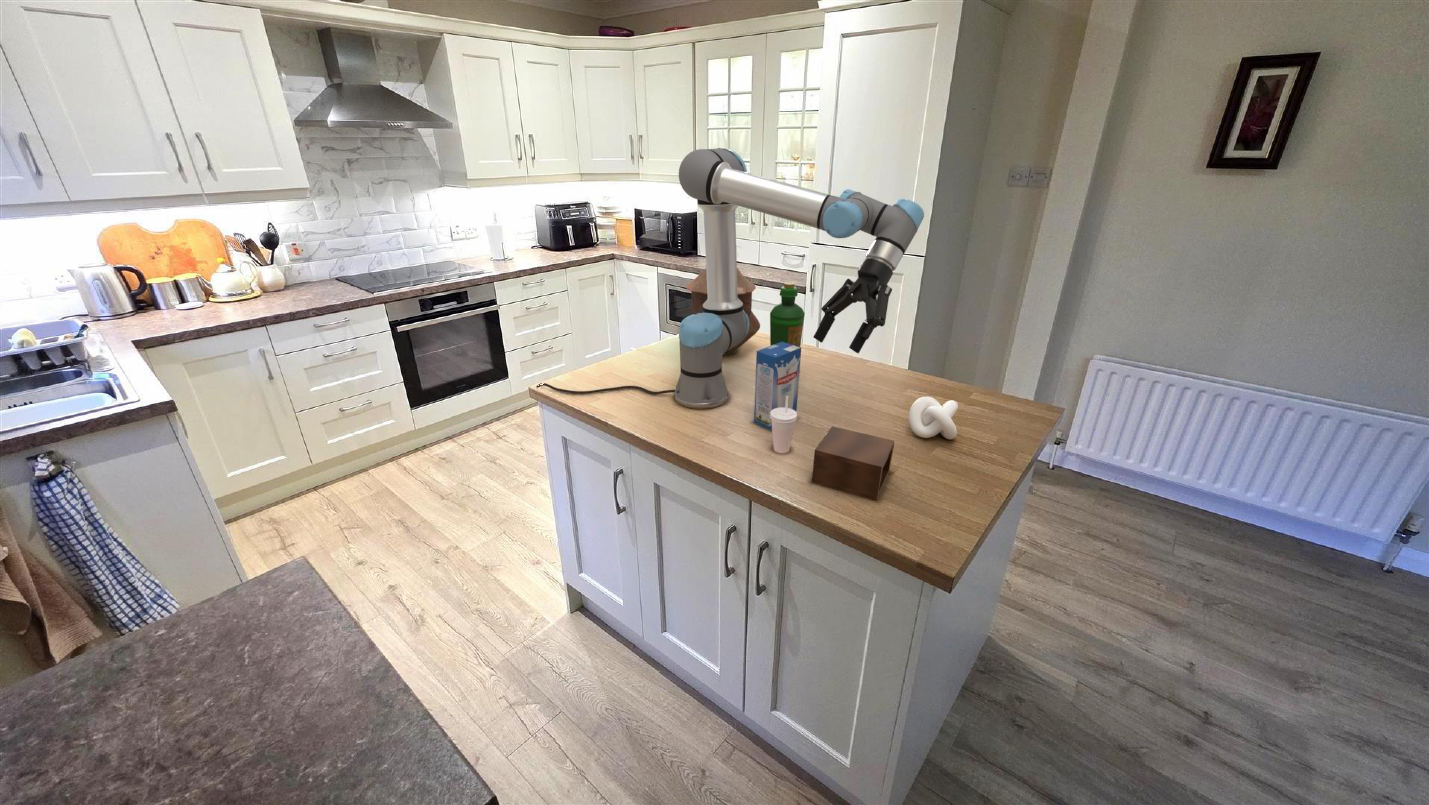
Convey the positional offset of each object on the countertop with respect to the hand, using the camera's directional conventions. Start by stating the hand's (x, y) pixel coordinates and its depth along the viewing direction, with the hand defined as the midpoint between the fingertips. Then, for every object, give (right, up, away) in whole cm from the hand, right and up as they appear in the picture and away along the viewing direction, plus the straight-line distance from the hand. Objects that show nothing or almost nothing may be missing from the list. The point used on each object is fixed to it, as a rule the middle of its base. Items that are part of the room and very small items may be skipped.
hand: (834, 345), depth 129 cm
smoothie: (-12, -25, +3) cm, 28 cm away
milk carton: (-12, -18, +16) cm, 27 cm away
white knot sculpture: (+27, -21, +10) cm, 36 cm away
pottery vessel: (-26, +5, +64) cm, 69 cm away
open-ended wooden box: (+2, -30, -8) cm, 31 cm away
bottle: (-6, -3, +48) cm, 48 cm away
